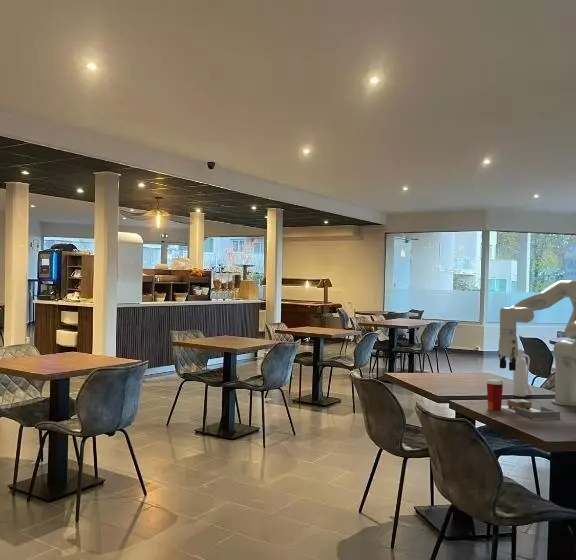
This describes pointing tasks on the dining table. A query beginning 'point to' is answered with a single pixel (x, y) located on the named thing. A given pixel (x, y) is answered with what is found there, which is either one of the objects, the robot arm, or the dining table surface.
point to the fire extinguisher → (521, 376)
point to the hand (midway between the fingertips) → (507, 369)
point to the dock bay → (535, 412)
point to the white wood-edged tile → (519, 403)
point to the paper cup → (494, 394)
